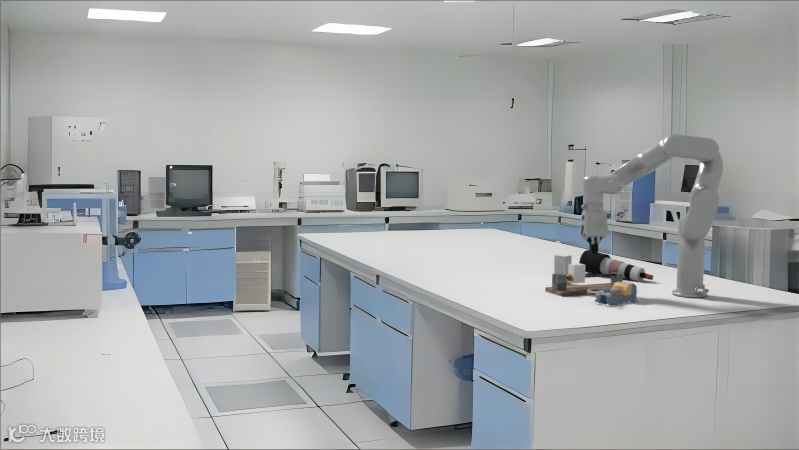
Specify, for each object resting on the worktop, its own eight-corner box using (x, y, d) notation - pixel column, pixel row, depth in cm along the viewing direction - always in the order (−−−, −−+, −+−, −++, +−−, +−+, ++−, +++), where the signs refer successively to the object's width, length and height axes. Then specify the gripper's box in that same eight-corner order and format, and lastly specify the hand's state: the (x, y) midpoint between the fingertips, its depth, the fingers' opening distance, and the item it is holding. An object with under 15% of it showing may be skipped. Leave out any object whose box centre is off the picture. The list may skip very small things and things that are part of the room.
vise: (618, 297, 294) (618, 280, 293) (640, 301, 285) (641, 284, 285) (586, 302, 283) (586, 284, 283) (608, 307, 275) (609, 288, 274)
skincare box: (571, 284, 323) (572, 255, 321) (565, 285, 320) (565, 256, 319) (559, 282, 327) (560, 254, 326) (553, 283, 324) (553, 254, 323)
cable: (647, 293, 325) (643, 274, 321) (581, 275, 350) (577, 257, 346) (660, 280, 330) (656, 261, 326) (594, 263, 355) (590, 245, 351)
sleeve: (584, 282, 302) (585, 264, 302) (573, 283, 301) (574, 265, 300) (579, 280, 306) (579, 263, 305) (568, 281, 304) (568, 263, 304)
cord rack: (627, 291, 305) (628, 272, 304) (561, 296, 295) (562, 276, 294) (609, 286, 316) (609, 268, 316) (545, 291, 306) (545, 272, 305)
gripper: (582, 208, 297) (583, 256, 298) (615, 206, 302) (615, 253, 304) (571, 207, 304) (572, 254, 305) (603, 205, 309) (604, 251, 311)
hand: (593, 253), depth 305 cm, fingers closed
